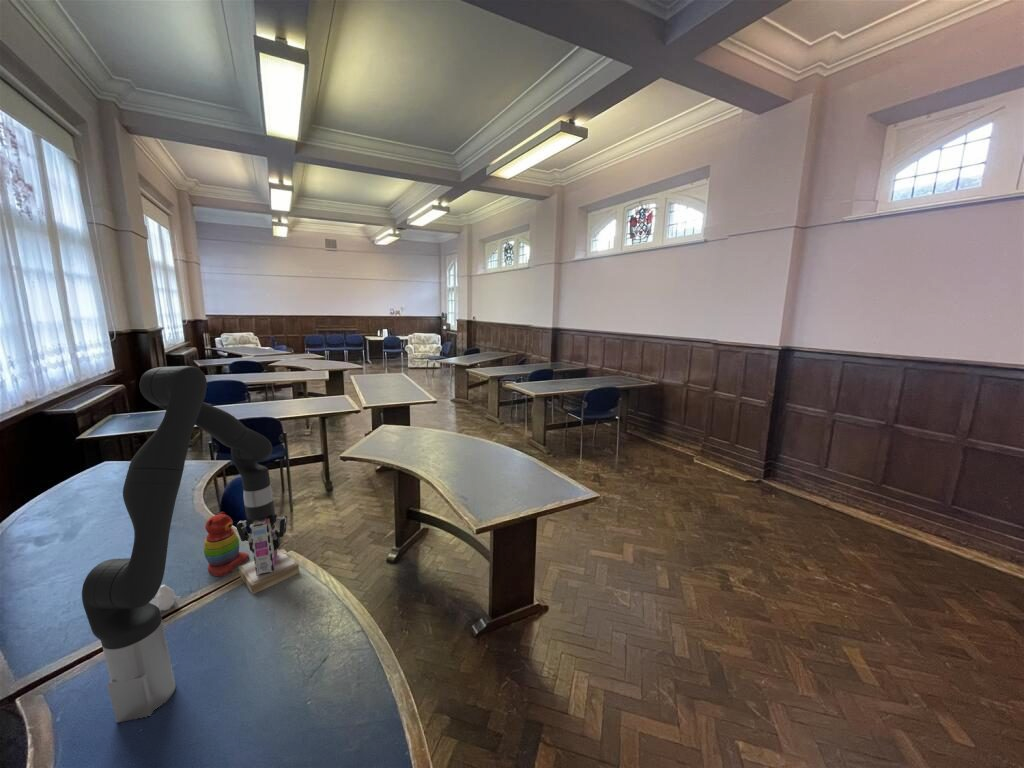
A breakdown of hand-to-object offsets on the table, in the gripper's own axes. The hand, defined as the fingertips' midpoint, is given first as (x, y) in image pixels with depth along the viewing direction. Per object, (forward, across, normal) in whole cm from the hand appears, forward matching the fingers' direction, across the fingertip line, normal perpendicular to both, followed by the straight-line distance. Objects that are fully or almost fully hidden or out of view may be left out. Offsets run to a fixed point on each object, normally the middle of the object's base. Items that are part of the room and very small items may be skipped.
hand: (265, 549), depth 125 cm
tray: (+9, 0, 0) cm, 9 cm away
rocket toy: (+9, -23, -10) cm, 27 cm away
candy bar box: (+5, 0, 0) cm, 5 cm away
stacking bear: (+9, -16, +8) cm, 20 cm away
